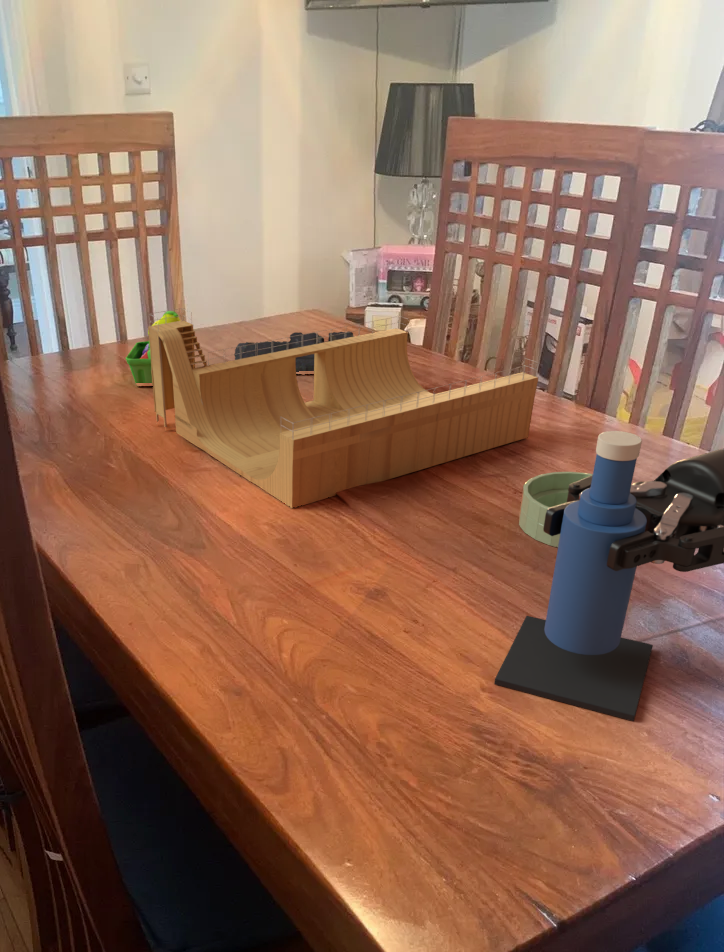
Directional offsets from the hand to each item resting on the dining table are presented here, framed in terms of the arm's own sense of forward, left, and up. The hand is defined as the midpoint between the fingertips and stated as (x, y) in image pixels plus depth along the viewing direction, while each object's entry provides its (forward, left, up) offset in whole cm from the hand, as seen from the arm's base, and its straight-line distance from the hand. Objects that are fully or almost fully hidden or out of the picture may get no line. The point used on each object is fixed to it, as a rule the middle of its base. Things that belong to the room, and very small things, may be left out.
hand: (578, 539), depth 66 cm
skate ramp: (-10, -60, -13) cm, 62 cm away
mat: (-3, 0, -13) cm, 13 cm away
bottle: (-2, 0, -9) cm, 10 cm away
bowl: (-20, -21, -13) cm, 32 cm away
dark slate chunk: (-19, -95, -13) cm, 98 cm away
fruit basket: (+6, -96, -13) cm, 97 cm away
